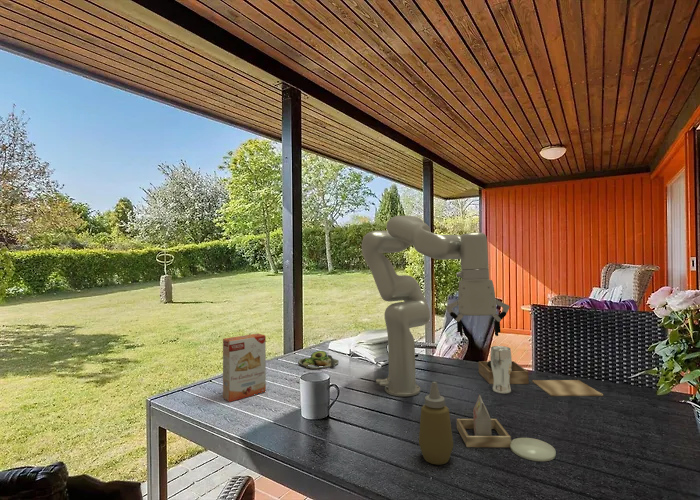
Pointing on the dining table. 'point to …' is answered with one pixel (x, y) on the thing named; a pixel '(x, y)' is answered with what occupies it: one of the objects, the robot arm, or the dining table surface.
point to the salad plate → (318, 360)
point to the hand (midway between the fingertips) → (478, 335)
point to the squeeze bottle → (435, 428)
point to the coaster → (533, 449)
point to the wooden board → (566, 388)
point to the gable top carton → (481, 419)
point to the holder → (483, 441)
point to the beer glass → (501, 368)
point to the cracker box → (244, 366)
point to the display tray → (516, 375)
